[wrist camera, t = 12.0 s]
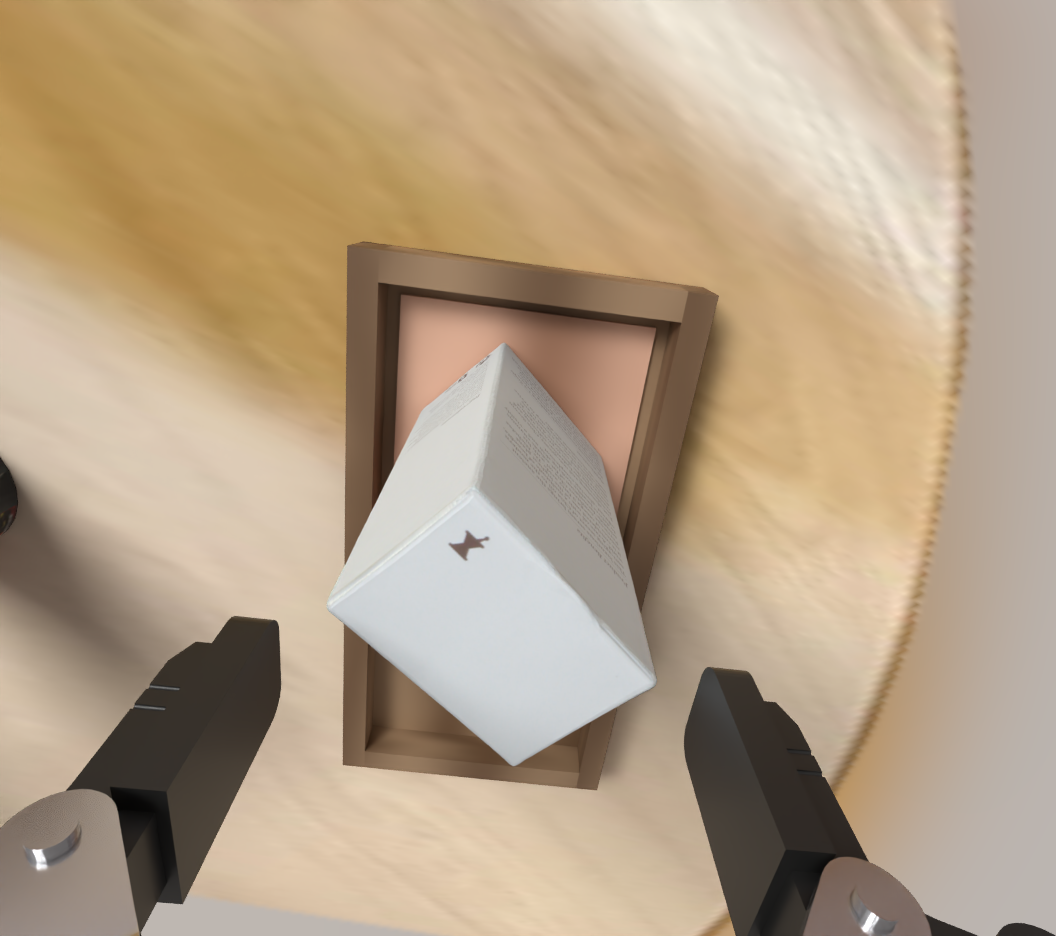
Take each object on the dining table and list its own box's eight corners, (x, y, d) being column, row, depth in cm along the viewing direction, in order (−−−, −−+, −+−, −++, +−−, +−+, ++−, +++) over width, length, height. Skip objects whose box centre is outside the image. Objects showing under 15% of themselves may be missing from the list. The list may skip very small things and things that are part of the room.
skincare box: (418, 410, 23) (311, 604, 12) (504, 337, 22) (474, 478, 11) (521, 521, 25) (512, 777, 14) (607, 459, 24) (669, 685, 13)
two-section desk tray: (354, 730, 30) (342, 765, 29) (363, 241, 21) (347, 245, 19) (593, 755, 31) (596, 790, 29) (703, 287, 22) (718, 295, 20)
